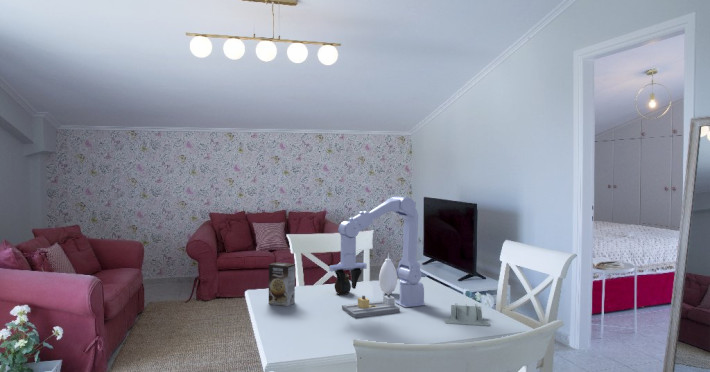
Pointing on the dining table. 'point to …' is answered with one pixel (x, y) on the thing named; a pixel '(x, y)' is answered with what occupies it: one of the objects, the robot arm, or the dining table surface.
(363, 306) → the slider
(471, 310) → the metal bracket
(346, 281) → the mate gourd
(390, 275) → the white air blower bulb
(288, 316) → the dining table surface
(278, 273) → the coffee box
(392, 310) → the gauge plate
